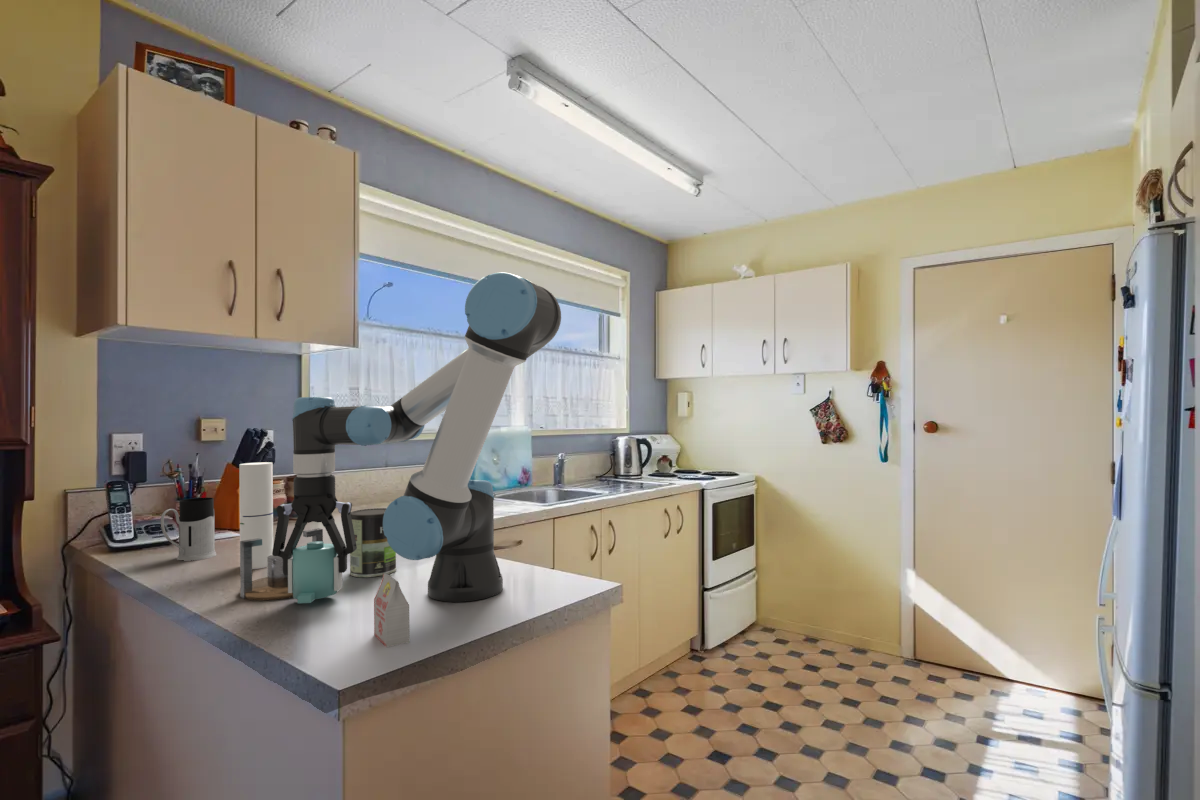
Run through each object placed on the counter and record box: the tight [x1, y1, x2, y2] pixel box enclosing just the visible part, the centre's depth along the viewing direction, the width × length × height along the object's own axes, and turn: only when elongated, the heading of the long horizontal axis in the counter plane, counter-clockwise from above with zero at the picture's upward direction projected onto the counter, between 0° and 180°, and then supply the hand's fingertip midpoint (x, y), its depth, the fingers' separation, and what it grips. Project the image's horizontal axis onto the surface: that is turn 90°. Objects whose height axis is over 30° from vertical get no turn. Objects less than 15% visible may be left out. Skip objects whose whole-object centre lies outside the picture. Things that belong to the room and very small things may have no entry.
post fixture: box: [239, 527, 324, 602], centre depth 130 cm, size 16×16×11 cm
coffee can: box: [349, 507, 397, 578], centre depth 143 cm, size 10×10×14 cm
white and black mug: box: [160, 497, 217, 562], centre depth 158 cm, size 9×14×15 cm, turn 166°
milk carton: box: [373, 574, 411, 648], centre depth 101 cm, size 4×7×10 cm, turn 36°
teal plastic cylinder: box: [292, 541, 338, 604], centre depth 122 cm, size 8×12×10 cm, turn 6°
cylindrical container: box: [238, 461, 274, 570], centre depth 151 cm, size 7×7×25 cm
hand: (315, 589), depth 121 cm, fingers closed on teal plastic cylinder, 8 cm apart
